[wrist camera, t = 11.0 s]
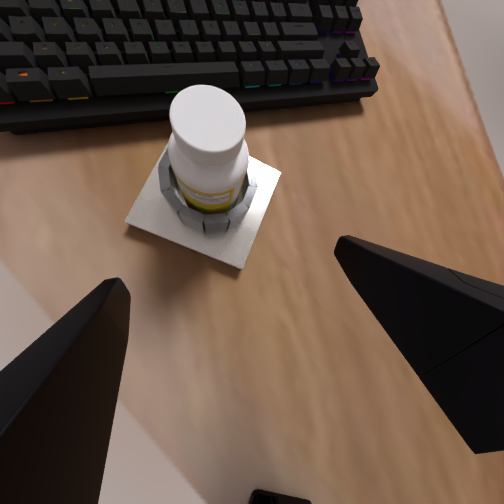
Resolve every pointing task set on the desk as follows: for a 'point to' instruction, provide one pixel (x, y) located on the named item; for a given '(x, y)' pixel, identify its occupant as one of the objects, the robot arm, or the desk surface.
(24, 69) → the keyboard
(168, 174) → the cup bracket
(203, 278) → the desk surface
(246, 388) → the desk surface
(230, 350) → the desk surface
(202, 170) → the supplement bottle
